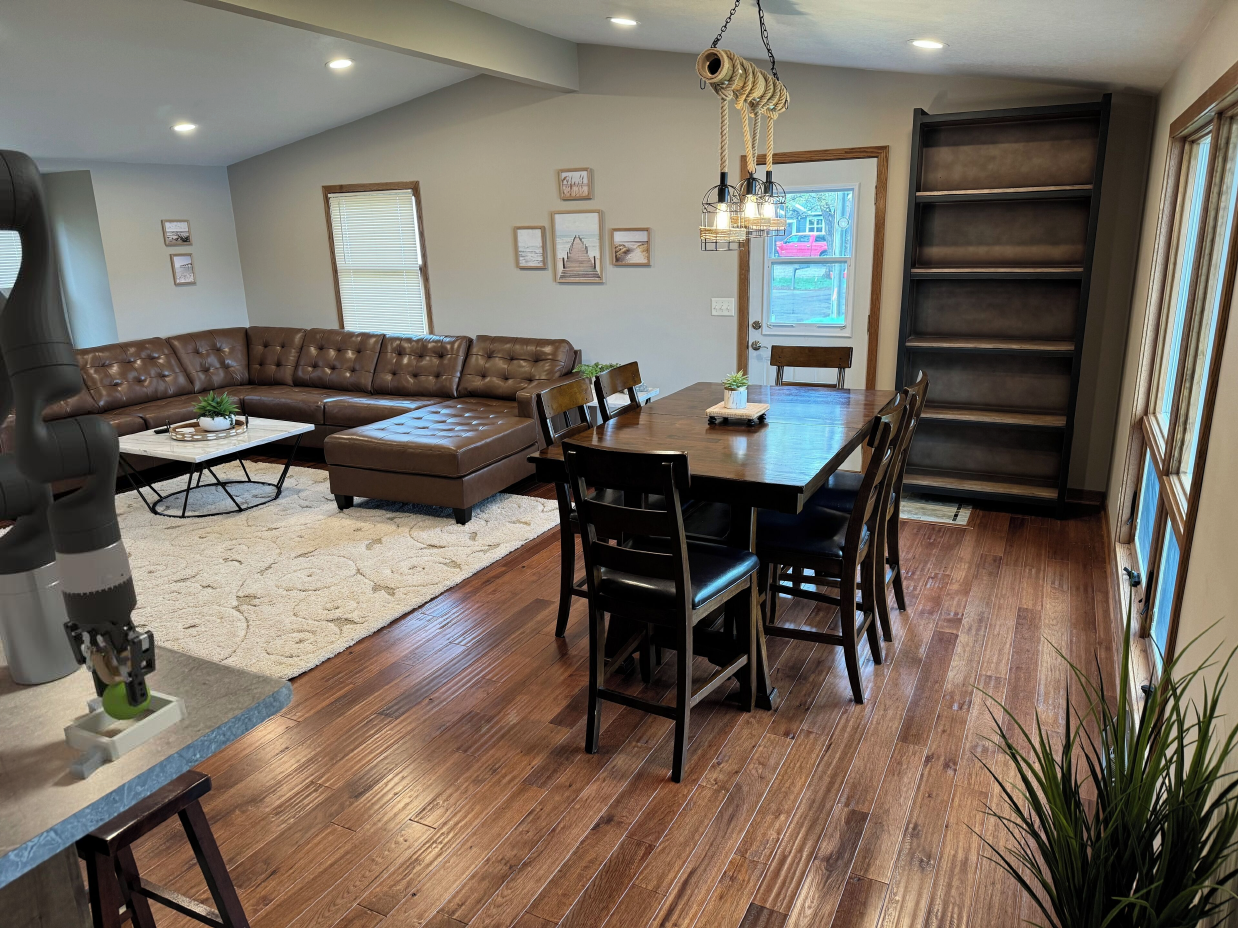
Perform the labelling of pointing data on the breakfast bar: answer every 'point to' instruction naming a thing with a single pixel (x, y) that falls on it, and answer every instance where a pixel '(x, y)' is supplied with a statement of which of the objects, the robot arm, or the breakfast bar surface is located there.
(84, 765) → the white rectangular frame piece
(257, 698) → the breakfast bar surface
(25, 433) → the robot arm
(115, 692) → the snail figurine
